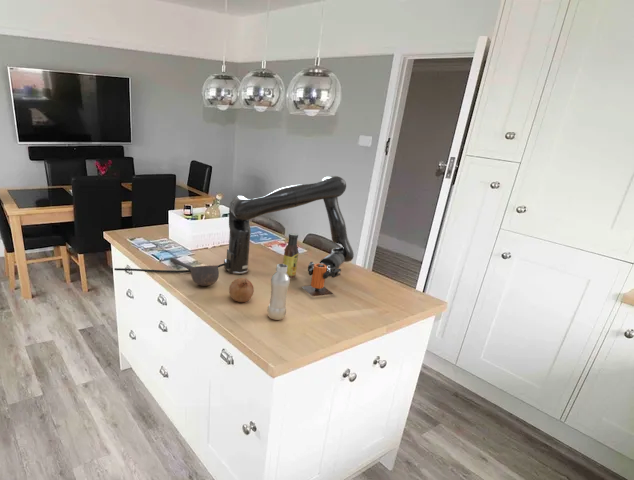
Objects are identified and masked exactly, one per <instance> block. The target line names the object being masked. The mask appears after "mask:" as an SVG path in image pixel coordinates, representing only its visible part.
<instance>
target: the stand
mask: <svg viewBox="0 0 634 480" xmlns="http://www.w3.org/2000/svg"><path fill="white" fill-rule="evenodd" d="M318 267H323V265H318ZM301 289H303V290H304V291H305V292H307V293H308V294H309V295H310V296H312V297H318V296H329V295H334V293H333V292H332V291H330V290H329V289H328V288H326V287H325V286H324V287H323V288H320V289H318V288H314V287H312V286H311V285H304V286H301Z"/></svg>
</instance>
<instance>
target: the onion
mask: <svg viewBox="0 0 634 480" xmlns="http://www.w3.org/2000/svg"><path fill="white" fill-rule="evenodd" d="M228 292H229V296H230V297H231V299H232V300H233V301H235V302H238V303H245V302H248V301H249V300H250V299H252V297H253V295H254V292H255V288H254V285H253V283H252V281H250V280H249V279H248V278H245V277H238V278H235V279H234V280H233V281H232V282H231V283H230V285H229V288H228Z"/></svg>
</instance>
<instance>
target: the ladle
mask: <svg viewBox="0 0 634 480" xmlns="http://www.w3.org/2000/svg"><path fill="white" fill-rule="evenodd" d="M169 261H170V262H171V263H173V264H174V265H176V266H180V267H182V268H185V269H186V270H190V271H191V272H190V274H191V278H192V281H193V282H194V283H195V284H196V285H198V286H200V287H206V286H211V285H214V284H215V283H217V281H218V279H219V276H220V275H219V274H220V272H219V268H218V265H219V264H218V265H214V264H213V265H198V266H193V265H192V264H191V265H190V264H187V263H185V262H183V261H181V260H180V259H177V258H175V257H170V258H169Z"/></svg>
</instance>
